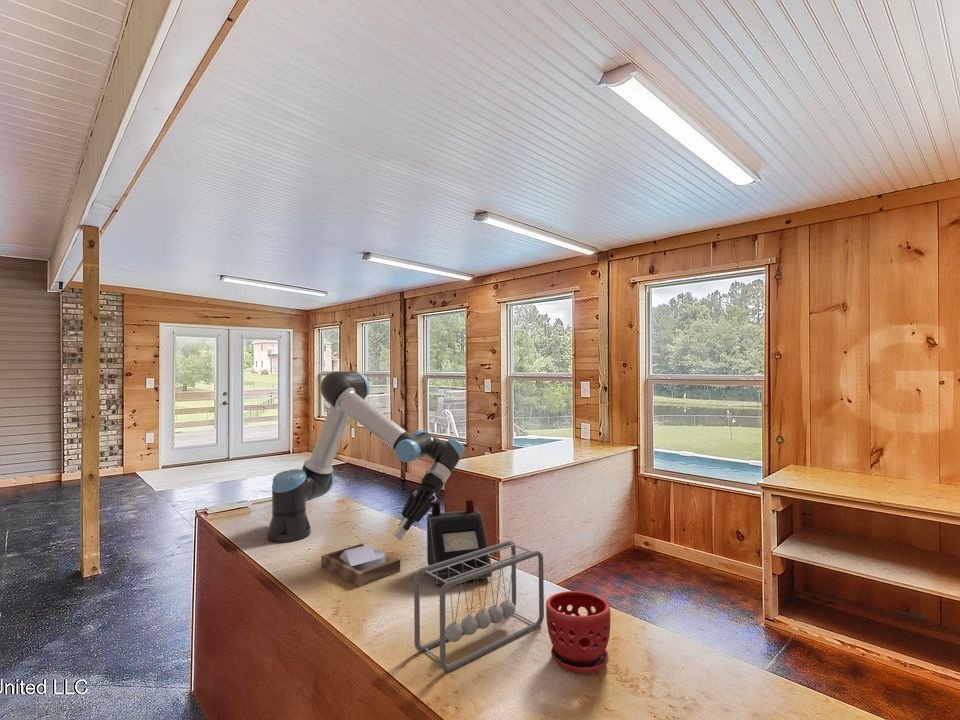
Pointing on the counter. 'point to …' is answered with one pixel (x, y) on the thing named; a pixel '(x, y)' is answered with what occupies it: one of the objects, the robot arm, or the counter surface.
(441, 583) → the voltmeter
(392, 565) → the walnut bay
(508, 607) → the newton's cradle
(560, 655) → the plant pot
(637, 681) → the counter surface
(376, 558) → the wedge on round base
